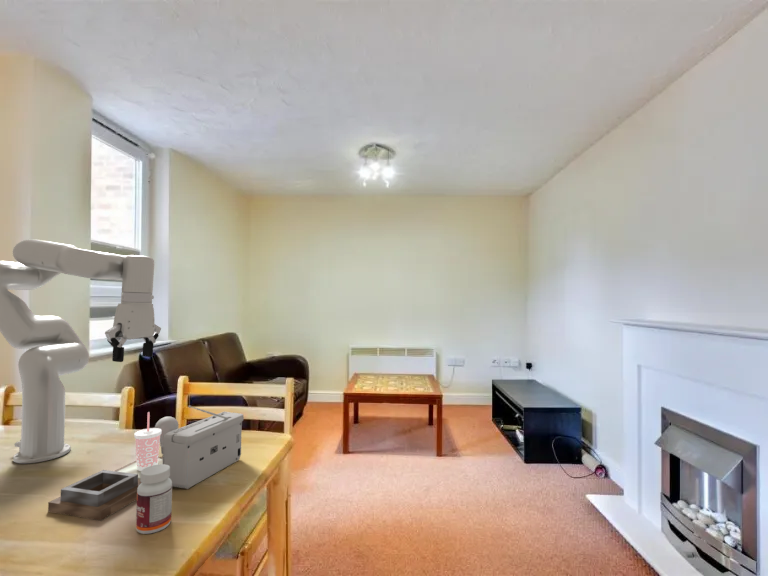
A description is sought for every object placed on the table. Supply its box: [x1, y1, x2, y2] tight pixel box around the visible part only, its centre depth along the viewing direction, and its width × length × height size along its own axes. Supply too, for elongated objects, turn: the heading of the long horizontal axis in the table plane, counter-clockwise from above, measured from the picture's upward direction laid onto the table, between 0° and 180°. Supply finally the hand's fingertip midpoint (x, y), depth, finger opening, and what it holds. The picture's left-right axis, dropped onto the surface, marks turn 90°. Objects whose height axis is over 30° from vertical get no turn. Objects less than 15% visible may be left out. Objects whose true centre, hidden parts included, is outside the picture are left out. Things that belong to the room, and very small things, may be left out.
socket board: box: [47, 456, 163, 521], centre depth 96 cm, size 14×26×4 cm, turn 167°
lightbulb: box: [154, 416, 179, 455], centre depth 116 cm, size 6×6×11 cm
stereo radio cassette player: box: [162, 405, 245, 490], centre depth 105 cm, size 21×8×20 cm, turn 160°
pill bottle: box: [135, 464, 173, 535], centre depth 80 cm, size 6×6×11 cm
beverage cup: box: [133, 411, 162, 471], centre depth 102 cm, size 6×6×14 cm
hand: (133, 359), depth 113 cm, fingers open, 9 cm apart
